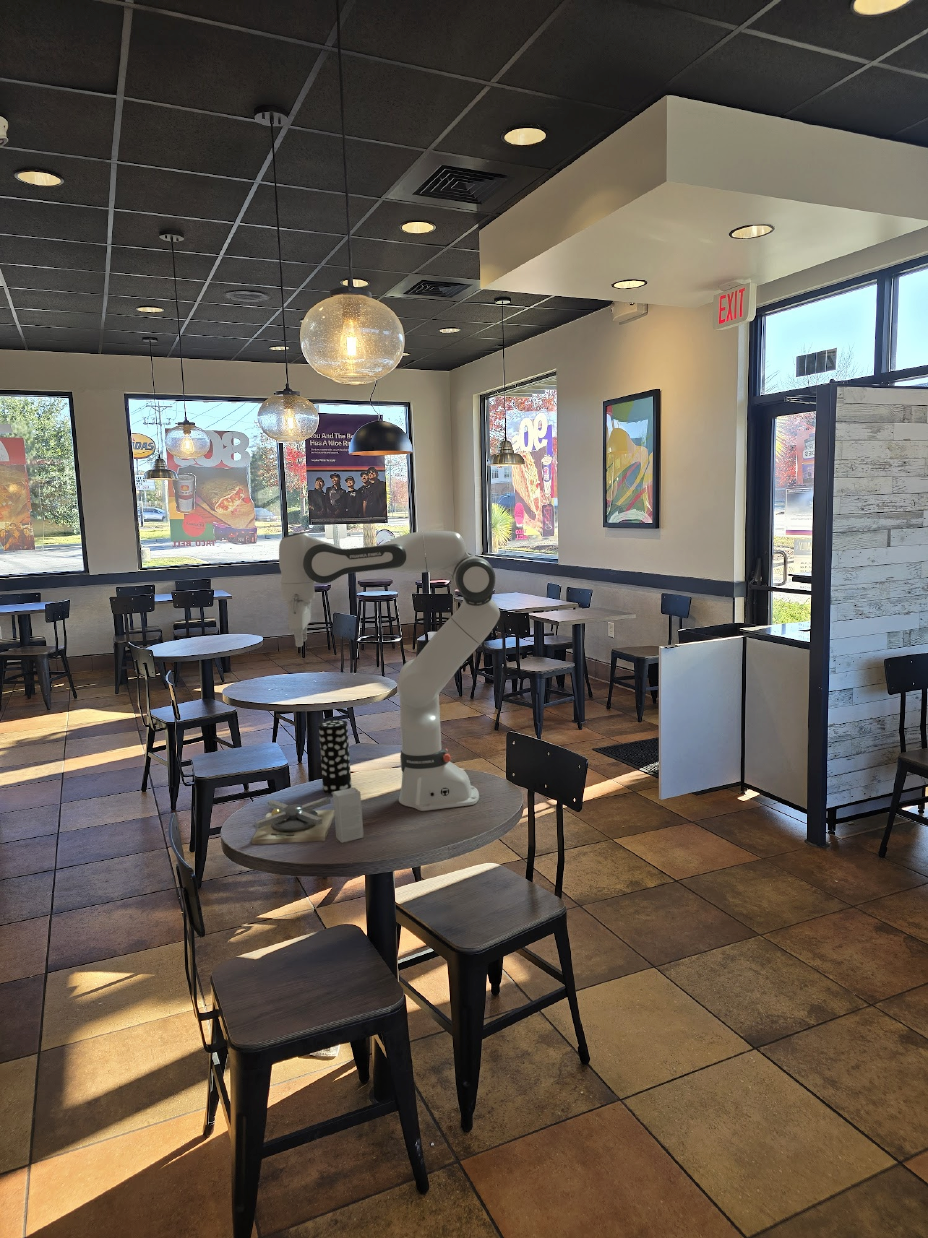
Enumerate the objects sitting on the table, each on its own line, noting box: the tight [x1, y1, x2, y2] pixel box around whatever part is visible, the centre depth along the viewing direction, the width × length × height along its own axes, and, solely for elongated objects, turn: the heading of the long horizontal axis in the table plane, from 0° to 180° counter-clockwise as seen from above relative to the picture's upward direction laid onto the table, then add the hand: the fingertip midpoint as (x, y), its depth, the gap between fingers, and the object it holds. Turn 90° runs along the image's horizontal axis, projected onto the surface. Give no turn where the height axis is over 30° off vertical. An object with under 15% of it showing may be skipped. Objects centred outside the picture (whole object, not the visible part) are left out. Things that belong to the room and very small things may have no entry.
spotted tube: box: [318, 719, 352, 795], centre depth 234 cm, size 8×8×20 cm
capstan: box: [254, 796, 331, 832], centre depth 206 cm, size 17×17×4 cm
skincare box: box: [332, 786, 365, 843], centre depth 198 cm, size 6×4×12 cm
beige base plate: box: [251, 809, 335, 845], centre depth 206 cm, size 18×18×1 cm
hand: (301, 643), depth 217 cm, fingers open, 8 cm apart
